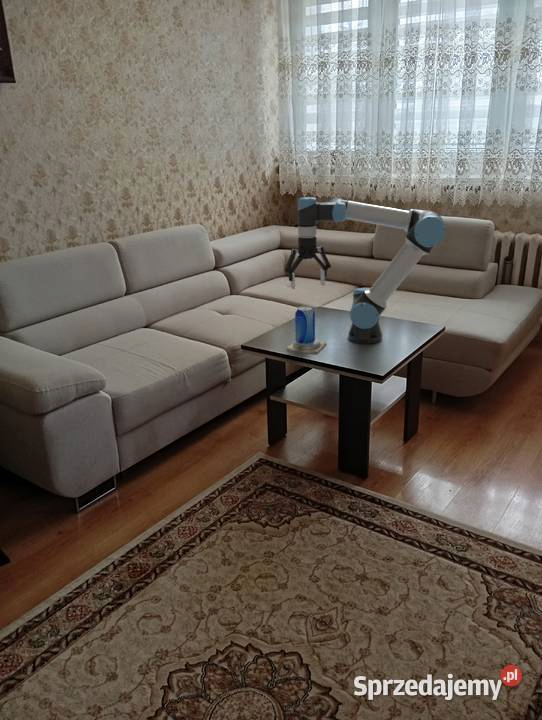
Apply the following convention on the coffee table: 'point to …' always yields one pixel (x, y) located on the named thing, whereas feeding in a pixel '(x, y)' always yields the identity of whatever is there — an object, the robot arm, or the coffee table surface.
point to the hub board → (307, 347)
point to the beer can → (305, 326)
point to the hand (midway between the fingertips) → (307, 286)
